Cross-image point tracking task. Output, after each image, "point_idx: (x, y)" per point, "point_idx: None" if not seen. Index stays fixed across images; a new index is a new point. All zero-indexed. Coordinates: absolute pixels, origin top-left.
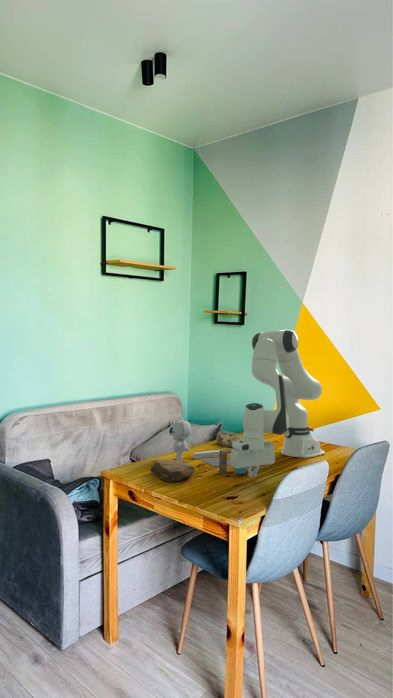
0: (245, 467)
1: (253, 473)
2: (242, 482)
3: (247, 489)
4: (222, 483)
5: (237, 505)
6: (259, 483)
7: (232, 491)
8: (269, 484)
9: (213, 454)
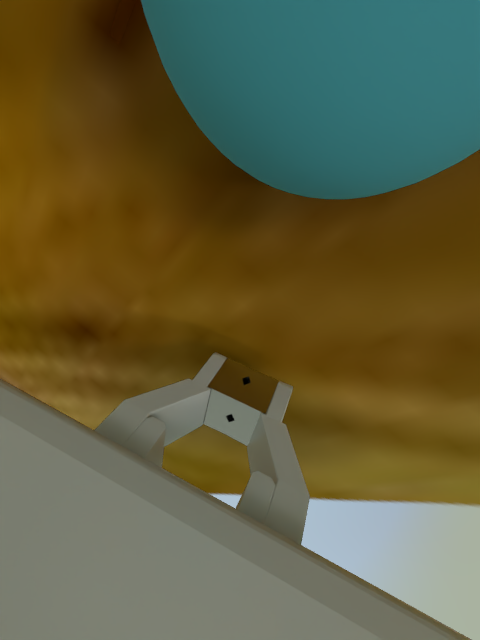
0: (343, 197)
1: (224, 425)
2: (148, 323)
3: (108, 408)
4: (2, 224)
5: None
6: None
7: (28, 363)
8: None
9: None
